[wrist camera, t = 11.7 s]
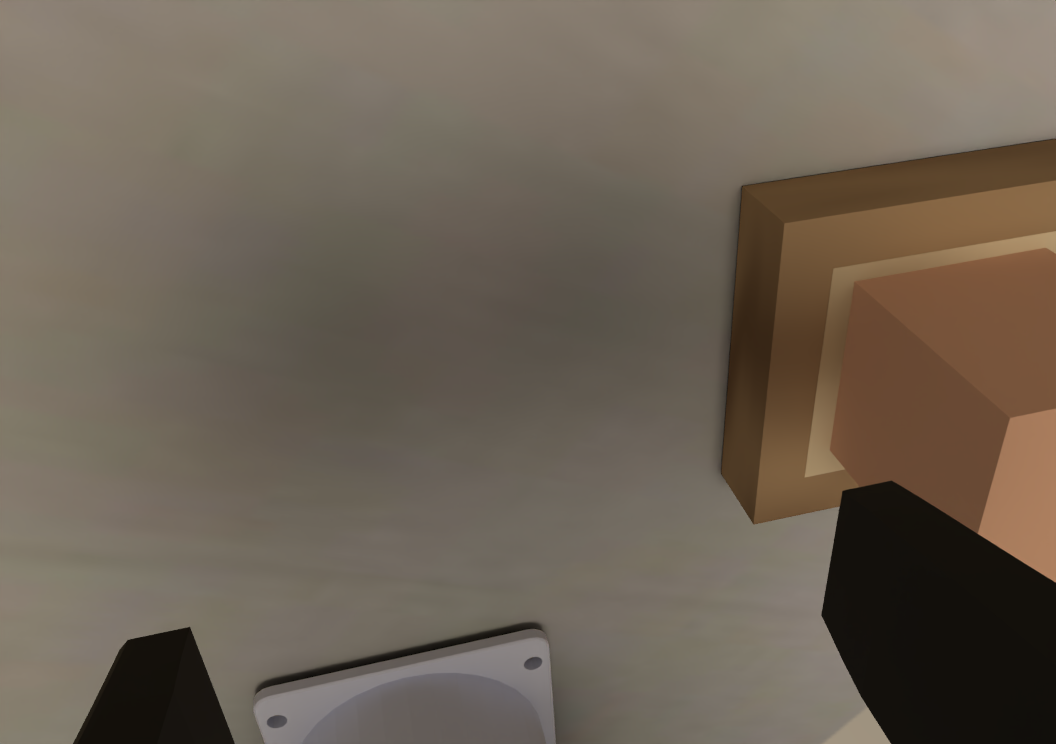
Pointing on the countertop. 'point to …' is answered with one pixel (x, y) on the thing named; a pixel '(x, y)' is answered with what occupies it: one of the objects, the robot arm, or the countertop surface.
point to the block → (959, 395)
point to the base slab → (849, 295)
